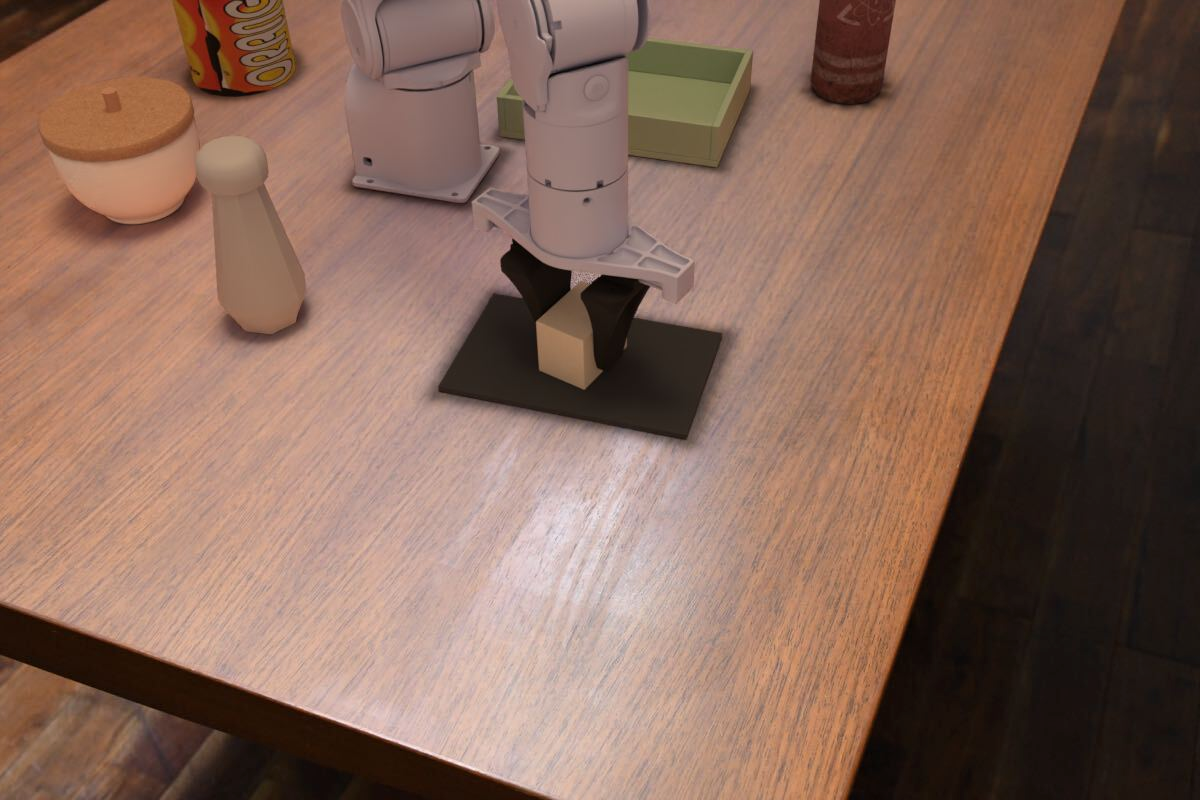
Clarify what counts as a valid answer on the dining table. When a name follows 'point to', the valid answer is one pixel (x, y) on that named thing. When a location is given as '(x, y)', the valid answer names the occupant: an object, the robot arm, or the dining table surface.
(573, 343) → the tan wooden block
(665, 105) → the bin
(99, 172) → the trinket box
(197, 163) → the salt shaker
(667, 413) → the mat
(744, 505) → the dining table surface
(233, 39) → the beverage can
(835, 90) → the can
